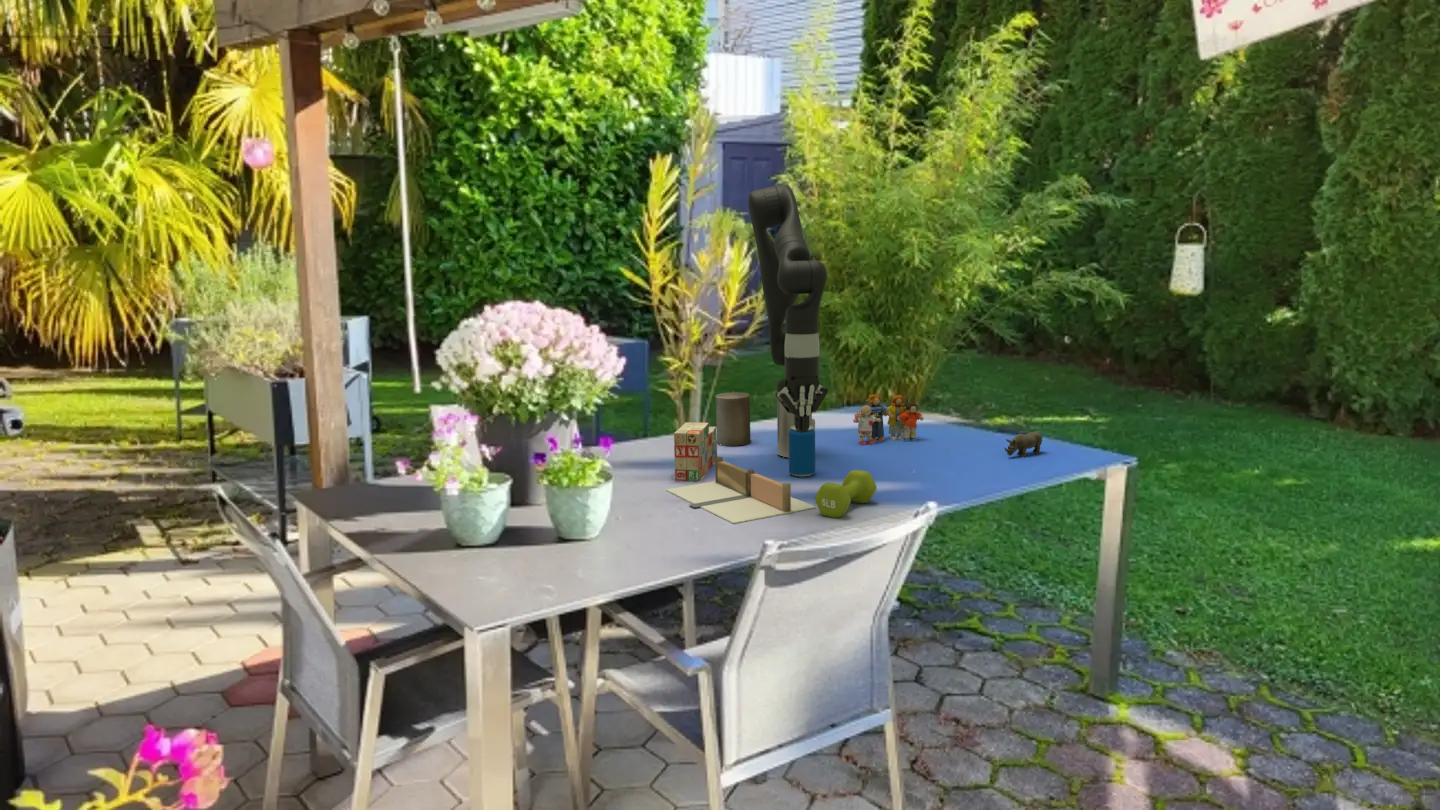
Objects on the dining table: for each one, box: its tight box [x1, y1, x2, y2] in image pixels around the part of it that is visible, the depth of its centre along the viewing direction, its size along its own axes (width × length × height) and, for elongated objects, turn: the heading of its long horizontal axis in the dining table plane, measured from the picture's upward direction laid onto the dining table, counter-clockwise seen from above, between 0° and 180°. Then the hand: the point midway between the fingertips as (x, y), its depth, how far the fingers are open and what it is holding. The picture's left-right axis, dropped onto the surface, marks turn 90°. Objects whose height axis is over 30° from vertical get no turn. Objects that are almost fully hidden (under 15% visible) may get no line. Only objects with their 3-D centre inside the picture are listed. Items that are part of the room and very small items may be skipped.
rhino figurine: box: [1004, 431, 1043, 458], centre depth 269 cm, size 4×14×6 cm, turn 122°
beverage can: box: [788, 426, 816, 477], centre depth 253 cm, size 6×6×12 cm
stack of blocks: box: [673, 421, 718, 482], centre depth 260 cm, size 21×6×12 cm, turn 168°
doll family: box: [852, 393, 924, 446], centre depth 290 cm, size 21×10×13 cm, turn 104°
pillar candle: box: [715, 390, 752, 447], centre depth 289 cm, size 10×10×15 cm
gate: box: [751, 472, 792, 511], centre depth 228 cm, size 2×14×6 cm, turn 30°
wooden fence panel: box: [714, 456, 755, 496], centre depth 241 cm, size 2×16×6 cm, turn 30°
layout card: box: [665, 480, 816, 524], centre depth 234 cm, size 23×31×1 cm
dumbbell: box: [814, 469, 877, 519], centre depth 225 cm, size 16×8×7 cm, turn 145°
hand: (802, 431), depth 225 cm, fingers closed
